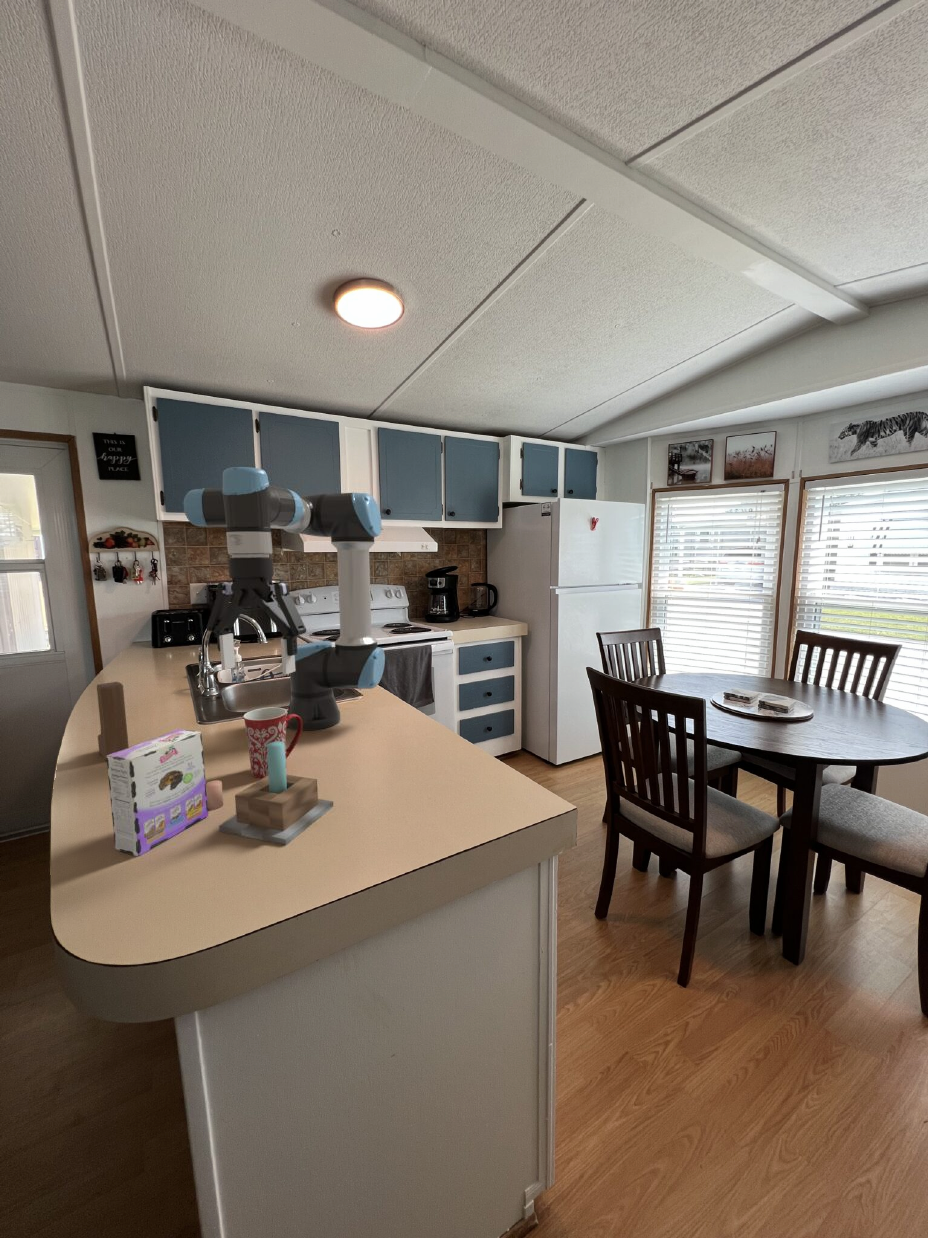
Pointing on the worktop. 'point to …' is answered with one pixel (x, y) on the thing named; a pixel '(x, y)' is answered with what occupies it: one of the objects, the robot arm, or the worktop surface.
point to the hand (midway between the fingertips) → (258, 670)
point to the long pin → (276, 767)
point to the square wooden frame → (276, 810)
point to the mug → (267, 735)
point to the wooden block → (112, 718)
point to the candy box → (156, 790)
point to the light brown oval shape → (214, 794)
